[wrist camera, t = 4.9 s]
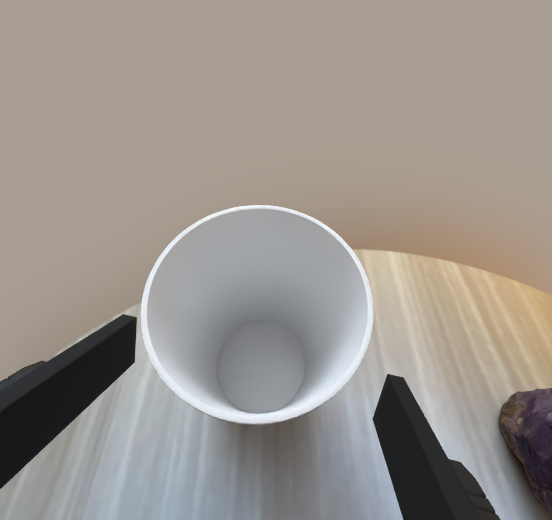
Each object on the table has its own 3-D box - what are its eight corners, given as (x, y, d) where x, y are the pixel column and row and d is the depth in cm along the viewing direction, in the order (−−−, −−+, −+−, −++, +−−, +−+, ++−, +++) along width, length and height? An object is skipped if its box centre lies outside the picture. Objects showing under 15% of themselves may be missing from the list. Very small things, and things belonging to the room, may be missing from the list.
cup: (263, 302, 26) (264, 177, 12) (325, 364, 23) (418, 293, 9) (195, 363, 23) (94, 285, 9) (258, 443, 20) (250, 509, 6)
